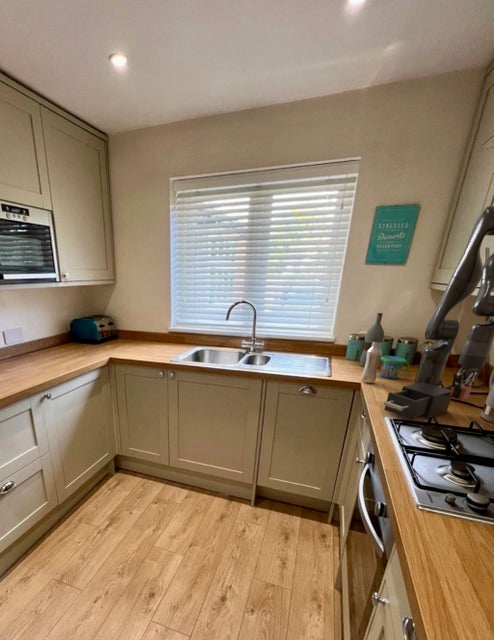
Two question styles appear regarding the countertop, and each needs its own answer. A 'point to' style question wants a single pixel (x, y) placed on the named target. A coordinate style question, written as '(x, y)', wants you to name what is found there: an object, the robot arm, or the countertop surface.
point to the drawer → (407, 404)
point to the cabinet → (438, 397)
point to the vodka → (372, 337)
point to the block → (462, 393)
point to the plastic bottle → (372, 363)
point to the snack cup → (392, 366)
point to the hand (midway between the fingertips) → (458, 396)
